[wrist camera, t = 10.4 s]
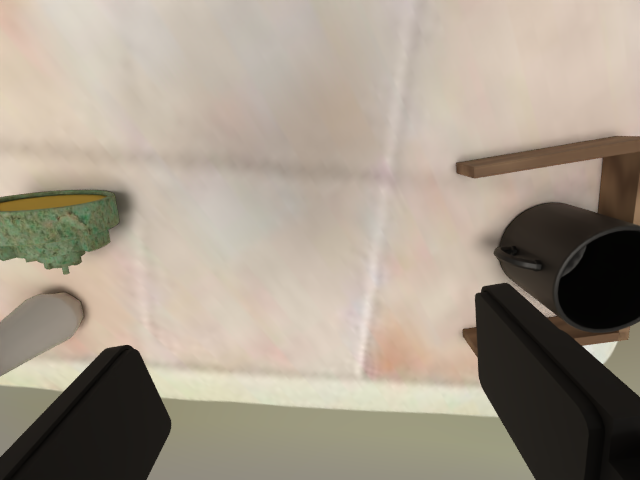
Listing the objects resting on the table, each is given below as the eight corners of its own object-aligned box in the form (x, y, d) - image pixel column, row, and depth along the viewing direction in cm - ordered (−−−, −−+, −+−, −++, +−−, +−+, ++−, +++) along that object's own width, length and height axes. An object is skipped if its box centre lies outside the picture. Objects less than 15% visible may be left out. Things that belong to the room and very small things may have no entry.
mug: (485, 194, 33) (543, 216, 25) (602, 206, 33) (699, 231, 25) (464, 279, 36) (508, 325, 27) (571, 290, 36) (648, 338, 28)
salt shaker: (34, 317, 38) (-105, 406, 26) (44, 277, 36) (-99, 351, 24) (84, 337, 39) (-27, 432, 26) (97, 298, 37) (-16, 380, 25)
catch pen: (456, 162, 32) (474, 166, 28) (616, 136, 31) (656, 136, 27) (463, 336, 38) (478, 359, 34) (597, 318, 37) (628, 339, 34)
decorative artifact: (135, 190, 33) (61, 212, 24) (147, 255, 36) (82, 299, 26) (37, 189, 33) (-76, 212, 24) (54, 254, 36) (-43, 298, 26)
